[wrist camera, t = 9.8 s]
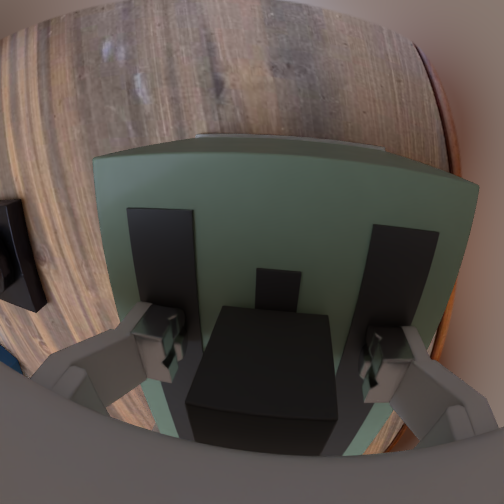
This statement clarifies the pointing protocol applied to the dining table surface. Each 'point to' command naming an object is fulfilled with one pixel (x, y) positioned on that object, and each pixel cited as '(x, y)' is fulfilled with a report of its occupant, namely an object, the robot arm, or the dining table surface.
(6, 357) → the perfume bottle
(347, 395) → the toaster
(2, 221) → the button block
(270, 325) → the block
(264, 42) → the dining table surface
